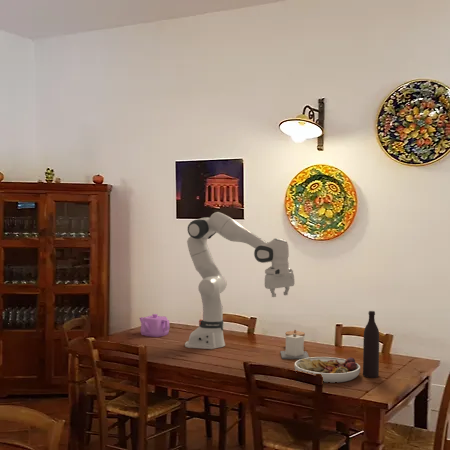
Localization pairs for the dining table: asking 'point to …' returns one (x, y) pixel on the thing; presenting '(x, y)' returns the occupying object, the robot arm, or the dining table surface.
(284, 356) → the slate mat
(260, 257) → the robot arm
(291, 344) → the white square canister
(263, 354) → the dining table surface
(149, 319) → the teakettle
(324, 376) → the bowl
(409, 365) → the dining table surface
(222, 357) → the dining table surface
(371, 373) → the wine bottle
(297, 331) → the lidded jar
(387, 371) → the dining table surface
